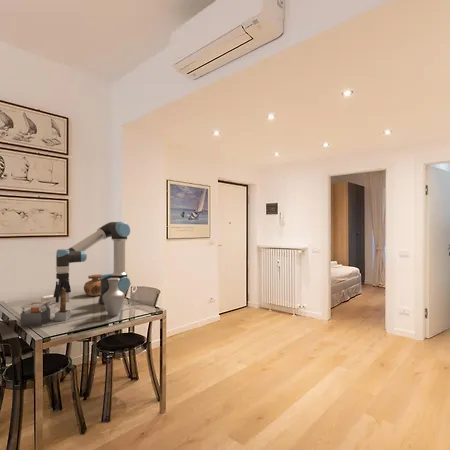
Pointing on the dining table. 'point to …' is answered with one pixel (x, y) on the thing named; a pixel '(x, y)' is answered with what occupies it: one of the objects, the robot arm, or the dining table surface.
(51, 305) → the ink box
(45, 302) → the grey clear-topped case
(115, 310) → the vase
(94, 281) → the clay pot
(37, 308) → the breaker button
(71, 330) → the dining table surface
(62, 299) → the stylus
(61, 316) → the pen cup
